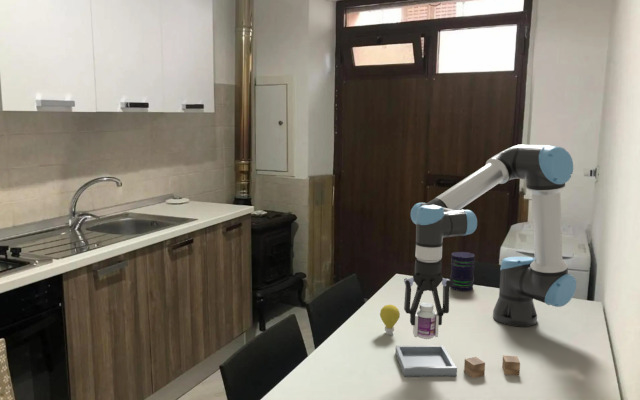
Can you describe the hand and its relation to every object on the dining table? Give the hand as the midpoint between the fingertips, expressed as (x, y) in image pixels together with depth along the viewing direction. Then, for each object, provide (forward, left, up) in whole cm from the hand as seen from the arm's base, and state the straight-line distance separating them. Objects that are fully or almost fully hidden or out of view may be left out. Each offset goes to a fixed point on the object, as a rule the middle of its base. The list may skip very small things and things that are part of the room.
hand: (425, 335), depth 153 cm
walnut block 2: (-24, +5, -9) cm, 26 cm away
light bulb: (+7, -23, -9) cm, 26 cm away
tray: (0, 0, -9) cm, 9 cm away
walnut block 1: (-13, +6, -9) cm, 17 cm away
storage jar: (-32, -71, -9) cm, 79 cm away
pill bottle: (0, 0, 0) cm, 0 cm away
